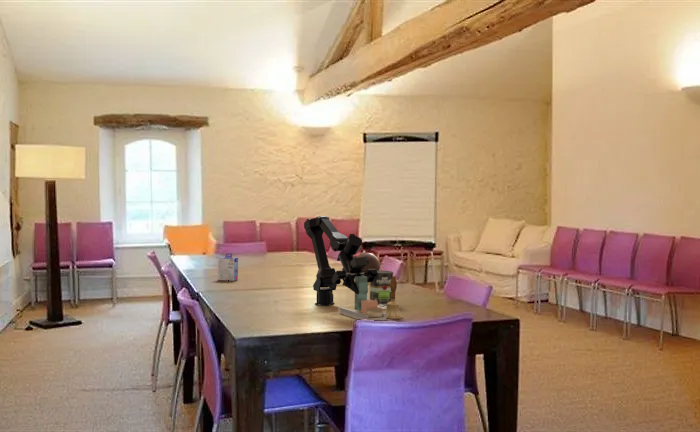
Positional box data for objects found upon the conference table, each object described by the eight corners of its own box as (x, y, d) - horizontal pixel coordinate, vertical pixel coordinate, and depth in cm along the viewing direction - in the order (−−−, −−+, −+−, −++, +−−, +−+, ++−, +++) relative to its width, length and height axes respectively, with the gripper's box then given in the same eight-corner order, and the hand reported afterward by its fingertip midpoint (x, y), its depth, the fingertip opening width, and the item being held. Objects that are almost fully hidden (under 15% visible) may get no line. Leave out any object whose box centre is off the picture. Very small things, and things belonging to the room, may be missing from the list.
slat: (351, 312, 266) (351, 276, 265) (365, 311, 269) (365, 275, 269) (367, 317, 255) (368, 280, 255) (382, 316, 258) (382, 279, 258)
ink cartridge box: (238, 279, 370) (238, 253, 369) (234, 281, 364) (234, 254, 364) (221, 279, 372) (221, 252, 372) (217, 280, 367) (217, 253, 366)
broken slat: (365, 309, 275) (365, 306, 275) (378, 308, 278) (378, 305, 278) (375, 312, 268) (375, 309, 268) (388, 311, 272) (388, 308, 272)
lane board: (339, 313, 271) (339, 307, 271) (379, 309, 281) (379, 303, 281) (366, 322, 254) (366, 315, 254) (407, 317, 263) (407, 311, 263)
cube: (361, 311, 261) (361, 300, 261) (371, 310, 263) (371, 299, 263) (367, 313, 257) (367, 301, 257) (377, 312, 259) (377, 301, 259)
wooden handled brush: (401, 315, 269) (402, 275, 269) (404, 319, 261) (404, 277, 260) (381, 315, 269) (381, 274, 269) (382, 318, 261) (383, 277, 260)
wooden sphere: (382, 281, 373) (382, 253, 372) (355, 281, 371) (355, 253, 370) (377, 277, 388) (377, 251, 387) (351, 277, 386) (351, 251, 385)
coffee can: (395, 305, 293) (396, 272, 292) (373, 306, 290) (373, 273, 289) (388, 301, 303) (388, 270, 302) (366, 302, 300) (366, 270, 299)
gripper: (335, 250, 264) (349, 281, 255) (376, 248, 273) (391, 279, 264) (325, 268, 271) (338, 299, 262) (365, 266, 280) (379, 296, 271)
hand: (362, 293), depth 264 cm, fingers open, 4 cm apart
